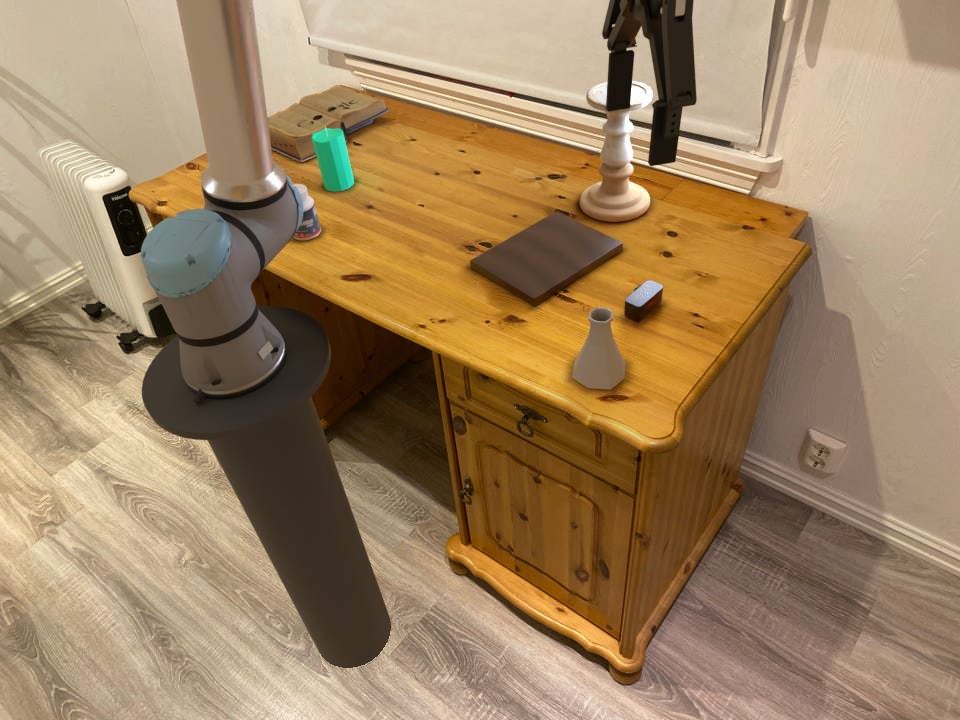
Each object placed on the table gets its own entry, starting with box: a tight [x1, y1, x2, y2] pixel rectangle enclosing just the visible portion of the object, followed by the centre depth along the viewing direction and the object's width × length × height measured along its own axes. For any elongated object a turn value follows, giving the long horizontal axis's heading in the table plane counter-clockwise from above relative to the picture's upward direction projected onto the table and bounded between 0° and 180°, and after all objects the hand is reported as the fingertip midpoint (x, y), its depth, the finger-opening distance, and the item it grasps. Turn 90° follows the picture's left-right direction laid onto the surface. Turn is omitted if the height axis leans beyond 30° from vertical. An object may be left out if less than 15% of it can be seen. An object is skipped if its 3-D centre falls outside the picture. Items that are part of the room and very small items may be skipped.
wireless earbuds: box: [623, 279, 664, 323], centre depth 104 cm, size 5×7×3 cm, turn 136°
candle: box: [312, 126, 355, 193], centre depth 138 cm, size 6×6×12 cm
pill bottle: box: [292, 183, 322, 241], centre depth 126 cm, size 5×5×9 cm
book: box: [267, 84, 390, 163], centre depth 158 cm, size 25×17×6 cm
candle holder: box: [579, 80, 653, 223], centre depth 120 cm, size 12×12×20 cm
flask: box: [571, 306, 626, 391], centre depth 93 cm, size 7×7×10 cm
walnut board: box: [469, 210, 624, 307], centre depth 116 cm, size 20×15×2 cm
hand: (638, 134), depth 79 cm, fingers open, 13 cm apart
